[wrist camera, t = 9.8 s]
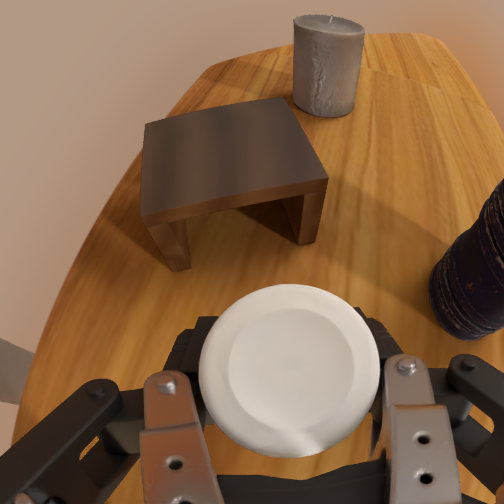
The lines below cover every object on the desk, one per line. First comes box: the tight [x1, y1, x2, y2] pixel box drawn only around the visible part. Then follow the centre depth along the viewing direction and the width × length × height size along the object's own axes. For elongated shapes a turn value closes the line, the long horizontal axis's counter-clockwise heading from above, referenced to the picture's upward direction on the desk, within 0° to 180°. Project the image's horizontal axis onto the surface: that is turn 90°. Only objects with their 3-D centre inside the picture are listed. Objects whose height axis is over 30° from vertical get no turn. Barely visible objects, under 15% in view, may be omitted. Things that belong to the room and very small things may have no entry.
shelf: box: [140, 97, 329, 272], centre depth 28 cm, size 14×12×9 cm
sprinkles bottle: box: [199, 284, 380, 458], centre depth 12 cm, size 5×5×14 cm
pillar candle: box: [293, 15, 365, 117], centre depth 35 cm, size 10×10×15 cm
